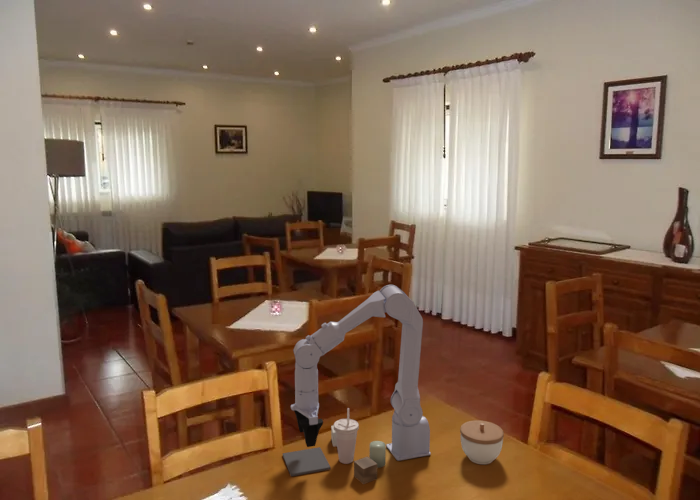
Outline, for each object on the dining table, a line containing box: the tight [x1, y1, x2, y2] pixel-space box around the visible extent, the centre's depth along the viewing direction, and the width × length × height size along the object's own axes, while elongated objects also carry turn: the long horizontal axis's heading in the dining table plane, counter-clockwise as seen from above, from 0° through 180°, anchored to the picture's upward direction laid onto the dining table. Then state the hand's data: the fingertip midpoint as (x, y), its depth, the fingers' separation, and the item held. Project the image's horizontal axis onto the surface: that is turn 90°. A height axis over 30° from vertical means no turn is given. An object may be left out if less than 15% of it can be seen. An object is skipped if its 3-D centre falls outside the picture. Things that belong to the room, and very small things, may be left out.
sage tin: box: [369, 440, 387, 469], centre depth 140 cm, size 4×4×5 cm
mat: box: [282, 446, 332, 477], centre depth 141 cm, size 10×10×1 cm
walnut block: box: [353, 456, 378, 485], centre depth 134 cm, size 4×4×4 cm
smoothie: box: [333, 407, 360, 465], centre depth 141 cm, size 6×6×14 cm
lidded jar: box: [459, 419, 505, 465], centre depth 142 cm, size 11×11×9 cm
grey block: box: [330, 425, 337, 447], centre depth 151 cm, size 4×4×4 cm
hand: (307, 438), depth 141 cm, fingers open, 7 cm apart
